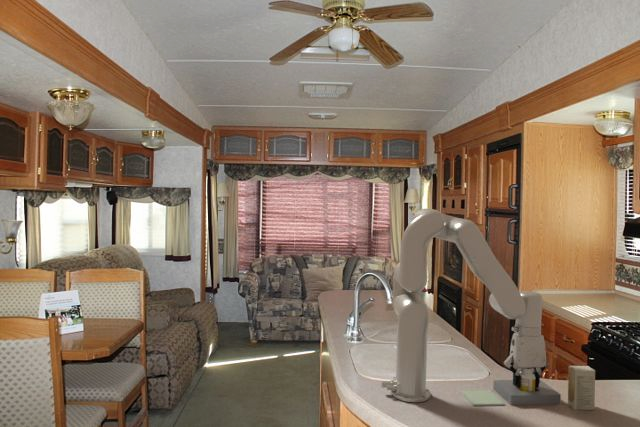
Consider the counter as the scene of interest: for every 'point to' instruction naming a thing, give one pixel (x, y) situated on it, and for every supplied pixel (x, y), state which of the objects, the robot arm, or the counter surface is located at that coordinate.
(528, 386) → the supplement bottle
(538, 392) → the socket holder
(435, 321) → the counter surface
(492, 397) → the rubber mat
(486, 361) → the counter surface
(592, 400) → the skincare box
